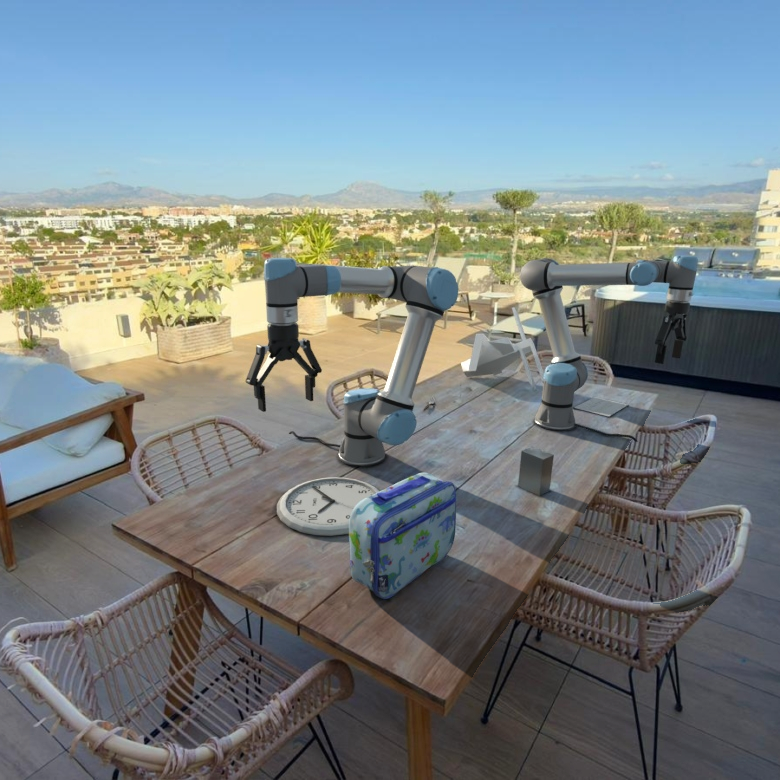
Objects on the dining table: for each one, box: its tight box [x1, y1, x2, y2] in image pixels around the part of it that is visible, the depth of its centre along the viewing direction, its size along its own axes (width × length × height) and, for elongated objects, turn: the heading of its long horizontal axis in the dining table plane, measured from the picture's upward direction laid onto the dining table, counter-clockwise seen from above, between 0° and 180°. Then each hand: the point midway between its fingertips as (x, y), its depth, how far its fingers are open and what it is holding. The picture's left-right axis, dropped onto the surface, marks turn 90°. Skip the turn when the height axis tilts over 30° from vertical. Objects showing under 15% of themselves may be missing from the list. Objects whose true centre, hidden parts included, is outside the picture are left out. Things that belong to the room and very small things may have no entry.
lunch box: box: [348, 471, 457, 600], centre depth 113 cm, size 26×11×21 cm, turn 134°
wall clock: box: [276, 476, 381, 537], centre depth 142 cm, size 30×2×30 cm
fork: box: [422, 395, 437, 412], centre depth 223 cm, size 3×16×2 cm, turn 160°
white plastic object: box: [460, 306, 545, 391], centre depth 259 cm, size 37×45×31 cm
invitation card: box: [573, 396, 629, 418], centre depth 226 cm, size 21×1×15 cm
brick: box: [517, 446, 555, 497], centre depth 152 cm, size 8×5×12 cm
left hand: (286, 404), depth 135 cm, fingers open, 13 cm apart
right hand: (667, 360), depth 189 cm, fingers open, 13 cm apart
